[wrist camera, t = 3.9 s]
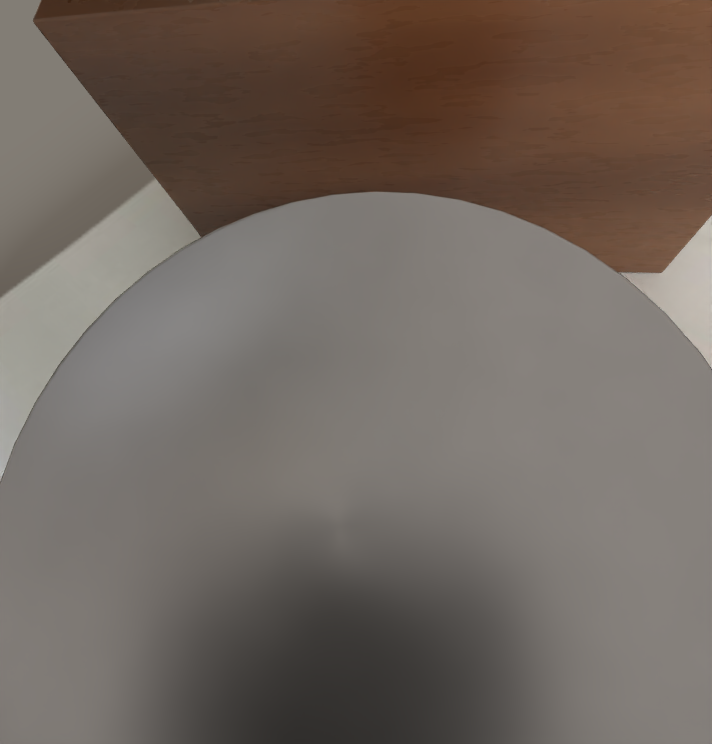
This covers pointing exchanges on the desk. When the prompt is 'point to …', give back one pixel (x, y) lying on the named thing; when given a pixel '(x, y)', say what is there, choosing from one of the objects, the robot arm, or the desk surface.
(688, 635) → the can
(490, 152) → the wooden board
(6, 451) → the desk surface
